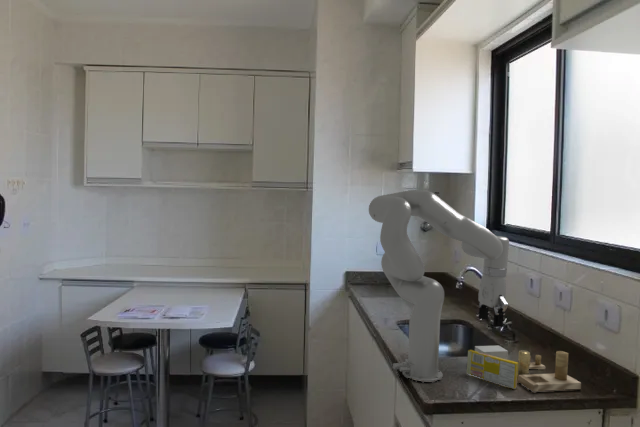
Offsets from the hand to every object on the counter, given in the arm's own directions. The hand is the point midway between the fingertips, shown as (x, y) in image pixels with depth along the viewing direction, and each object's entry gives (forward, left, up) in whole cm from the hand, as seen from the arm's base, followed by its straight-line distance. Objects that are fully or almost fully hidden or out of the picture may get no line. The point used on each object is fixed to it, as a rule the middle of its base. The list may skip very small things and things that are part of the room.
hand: (490, 322), depth 172 cm
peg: (+7, -10, -15) cm, 19 cm away
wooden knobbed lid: (+15, -3, -15) cm, 21 cm away
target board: (+10, -19, -15) cm, 26 cm away
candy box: (-6, -13, -16) cm, 21 cm away
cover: (+1, 0, -15) cm, 15 cm away
